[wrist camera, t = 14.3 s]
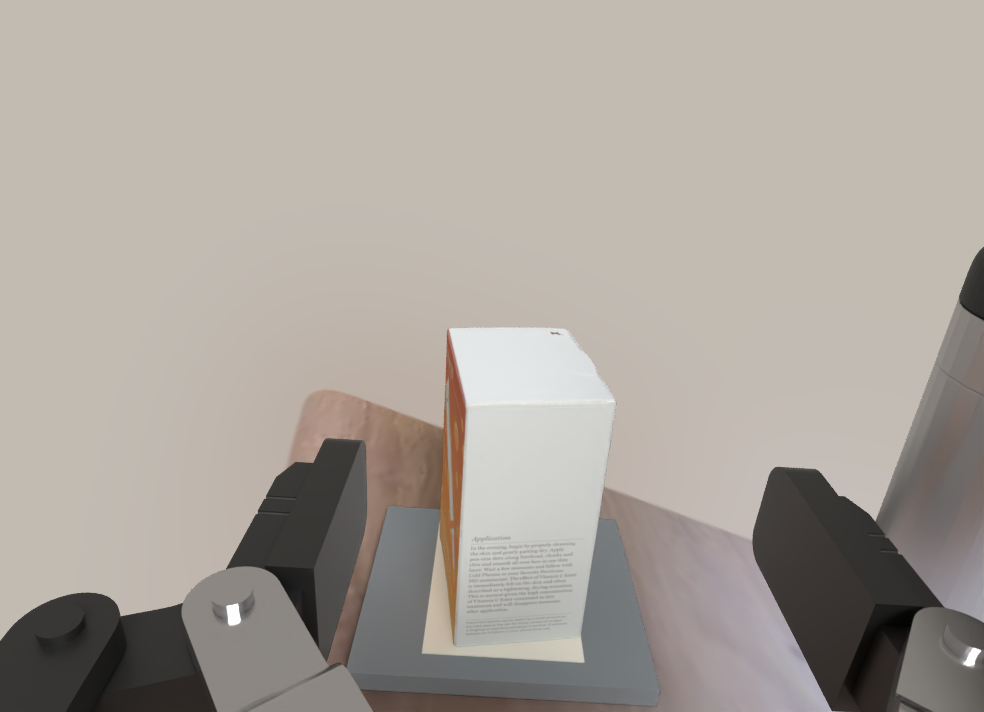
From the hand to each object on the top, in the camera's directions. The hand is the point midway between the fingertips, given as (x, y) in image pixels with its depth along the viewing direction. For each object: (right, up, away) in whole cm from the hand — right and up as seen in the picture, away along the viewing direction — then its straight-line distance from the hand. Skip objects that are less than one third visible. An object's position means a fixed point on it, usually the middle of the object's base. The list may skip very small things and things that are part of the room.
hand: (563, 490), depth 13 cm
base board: (-1, -10, +22) cm, 24 cm away
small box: (-1, -9, +21) cm, 23 cm away
